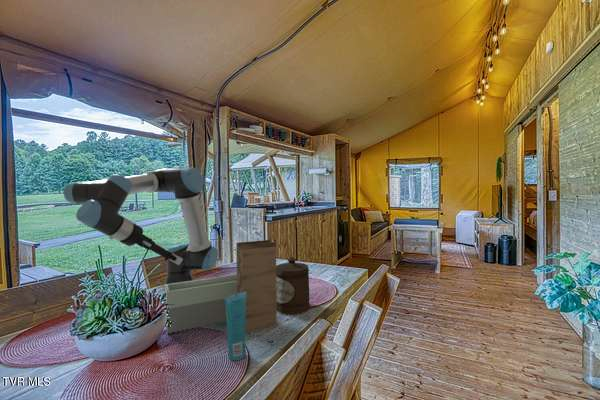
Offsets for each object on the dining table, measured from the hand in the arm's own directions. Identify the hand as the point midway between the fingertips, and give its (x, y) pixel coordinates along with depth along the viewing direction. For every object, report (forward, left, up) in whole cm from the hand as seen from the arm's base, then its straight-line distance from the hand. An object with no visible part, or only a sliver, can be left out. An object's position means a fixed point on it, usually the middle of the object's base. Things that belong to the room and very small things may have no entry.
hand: (171, 256), depth 115 cm
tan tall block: (+24, +27, -25) cm, 44 cm away
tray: (+9, +13, -25) cm, 29 cm away
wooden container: (+15, +47, -25) cm, 55 cm away
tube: (+40, +15, -25) cm, 49 cm away
